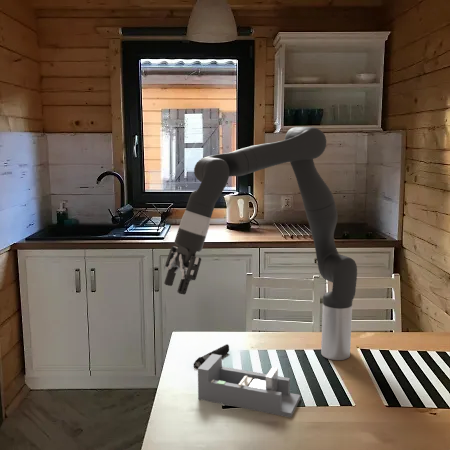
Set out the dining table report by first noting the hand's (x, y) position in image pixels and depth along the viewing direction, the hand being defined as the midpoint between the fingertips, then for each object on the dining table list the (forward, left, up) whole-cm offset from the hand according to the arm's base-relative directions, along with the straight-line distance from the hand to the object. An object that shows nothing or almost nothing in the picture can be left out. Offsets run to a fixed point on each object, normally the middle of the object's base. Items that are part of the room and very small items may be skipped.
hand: (174, 289), depth 141 cm
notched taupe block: (-7, +23, -30) cm, 38 cm away
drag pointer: (-6, +18, -30) cm, 35 cm away
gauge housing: (-7, +19, -31) cm, 37 cm away
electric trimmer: (-26, 0, -32) cm, 41 cm away
